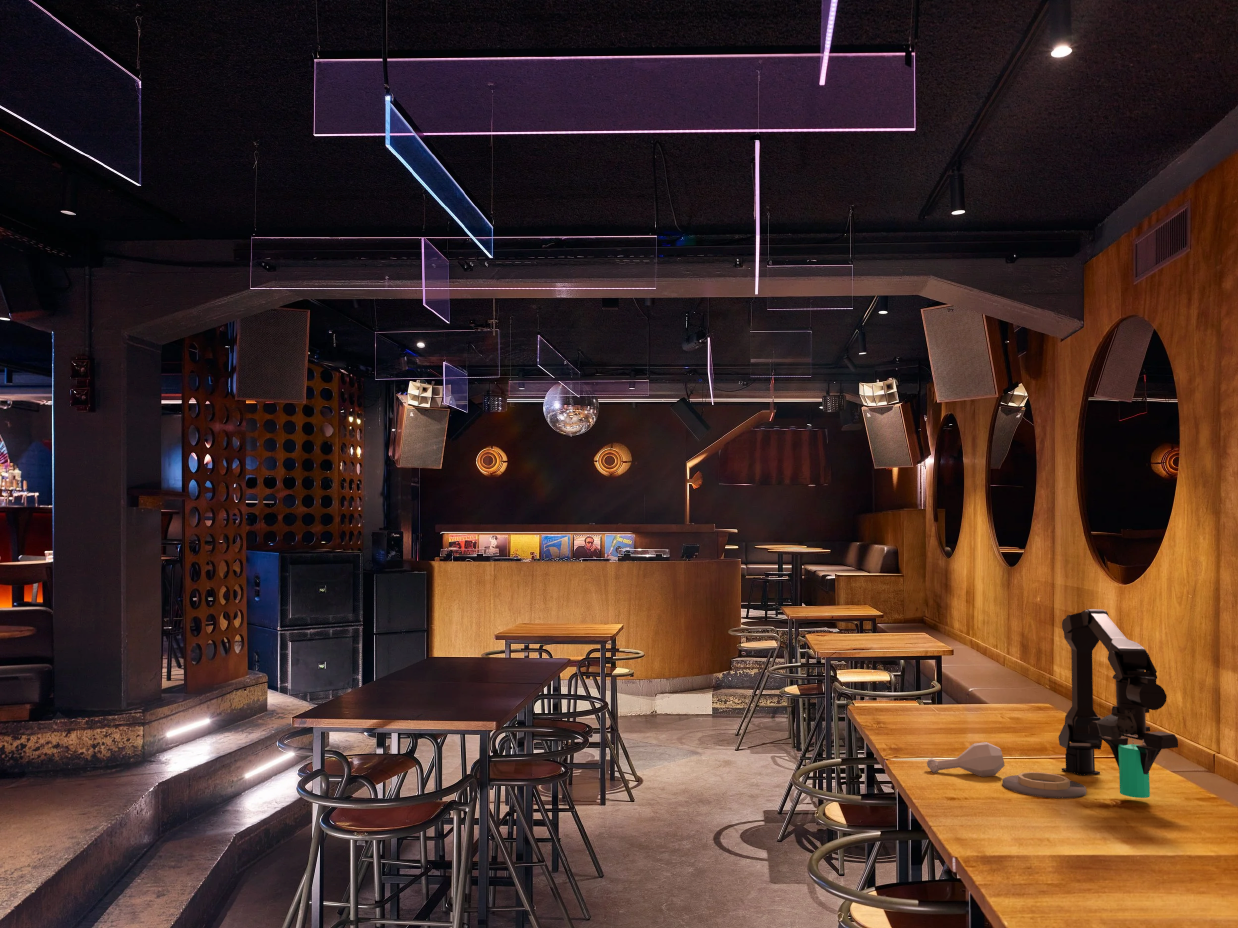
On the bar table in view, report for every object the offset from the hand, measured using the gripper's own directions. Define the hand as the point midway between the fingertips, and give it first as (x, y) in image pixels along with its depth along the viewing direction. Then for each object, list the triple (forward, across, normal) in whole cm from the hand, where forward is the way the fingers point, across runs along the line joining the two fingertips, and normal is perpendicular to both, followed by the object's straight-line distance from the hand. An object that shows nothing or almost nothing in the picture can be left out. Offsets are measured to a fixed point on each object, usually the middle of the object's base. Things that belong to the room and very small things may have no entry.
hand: (1133, 773), depth 212 cm
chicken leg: (+7, -34, -17) cm, 38 cm away
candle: (+5, 0, 0) cm, 5 cm away
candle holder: (+6, -16, -10) cm, 20 cm away
